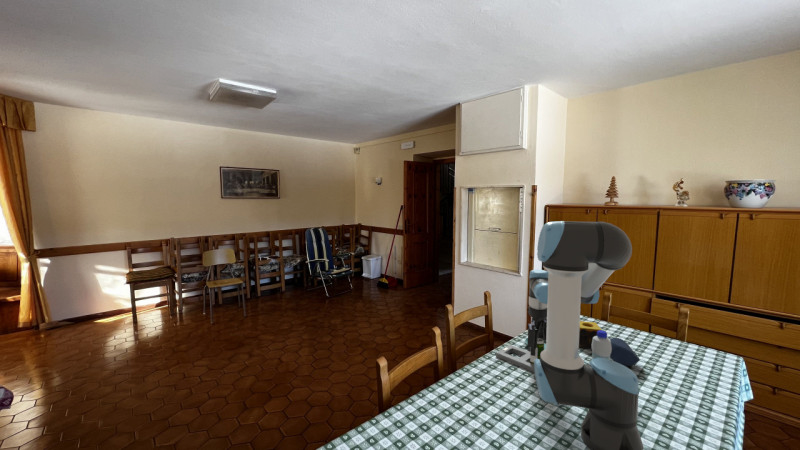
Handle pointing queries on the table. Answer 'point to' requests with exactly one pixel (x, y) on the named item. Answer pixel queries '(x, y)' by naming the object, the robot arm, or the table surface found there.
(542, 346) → the beer can
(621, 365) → the robot arm
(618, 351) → the decorative stone
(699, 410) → the table surface
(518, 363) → the socket panel
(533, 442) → the table surface
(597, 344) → the bottle
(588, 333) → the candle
